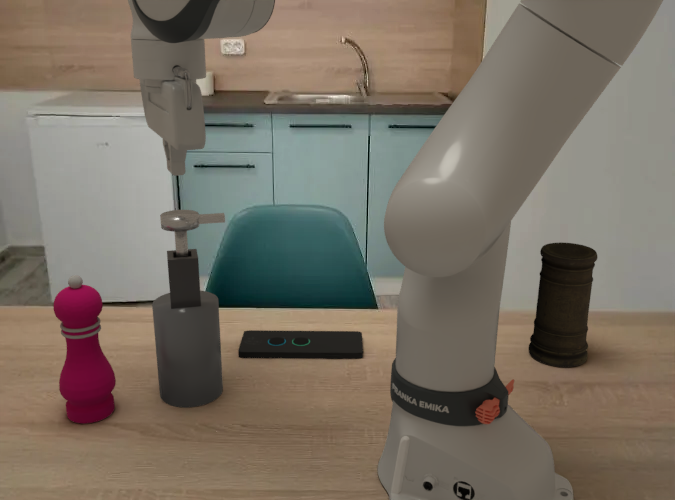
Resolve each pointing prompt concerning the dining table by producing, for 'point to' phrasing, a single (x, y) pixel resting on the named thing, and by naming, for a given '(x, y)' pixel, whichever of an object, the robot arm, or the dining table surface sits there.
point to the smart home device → (301, 344)
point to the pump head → (186, 225)
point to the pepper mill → (83, 354)
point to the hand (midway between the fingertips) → (176, 173)
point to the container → (563, 305)
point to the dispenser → (187, 337)
